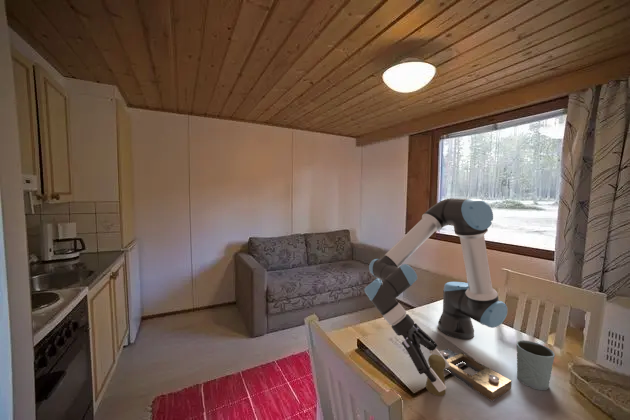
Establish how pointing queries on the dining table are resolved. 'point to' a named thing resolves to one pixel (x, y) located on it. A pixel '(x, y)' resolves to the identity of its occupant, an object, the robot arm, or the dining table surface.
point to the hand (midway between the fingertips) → (445, 378)
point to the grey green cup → (534, 364)
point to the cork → (438, 367)
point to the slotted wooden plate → (477, 375)
